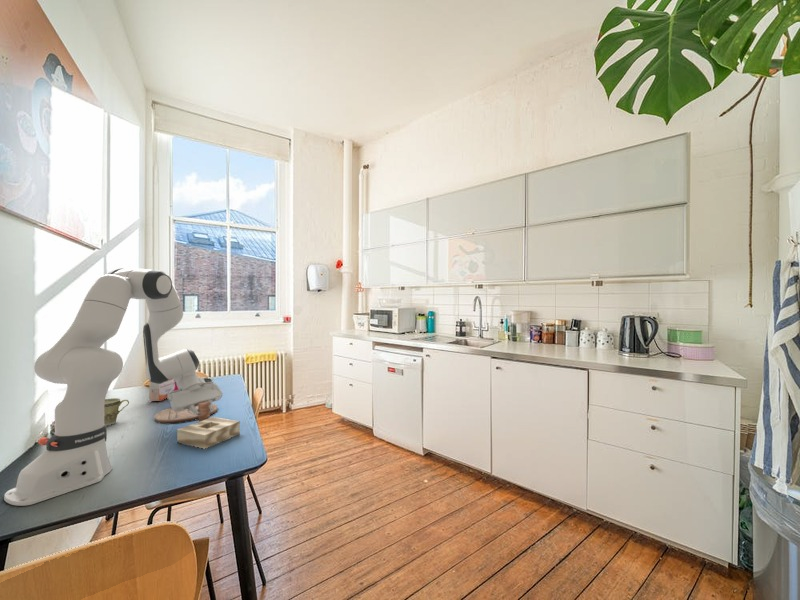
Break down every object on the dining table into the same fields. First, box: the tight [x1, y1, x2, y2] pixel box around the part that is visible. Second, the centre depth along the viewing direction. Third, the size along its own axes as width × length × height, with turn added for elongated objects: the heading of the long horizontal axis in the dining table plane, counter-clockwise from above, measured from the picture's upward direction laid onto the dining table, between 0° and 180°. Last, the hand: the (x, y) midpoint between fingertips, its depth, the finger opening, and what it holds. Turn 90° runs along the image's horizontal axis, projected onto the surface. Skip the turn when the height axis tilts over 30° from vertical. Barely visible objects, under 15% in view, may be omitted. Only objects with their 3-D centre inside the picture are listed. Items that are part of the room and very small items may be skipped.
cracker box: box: [148, 378, 175, 402], centre depth 190 cm, size 14×6×21 cm, turn 179°
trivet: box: [154, 403, 218, 424], centre depth 162 cm, size 25×25×2 cm
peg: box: [198, 401, 211, 422], centre depth 146 cm, size 4×4×10 cm
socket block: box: [176, 416, 241, 450], centre depth 133 cm, size 15×15×5 cm
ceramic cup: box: [104, 397, 130, 427], centre depth 152 cm, size 13×10×10 cm
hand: (204, 412), depth 145 cm, fingers closed on peg, 4 cm apart
